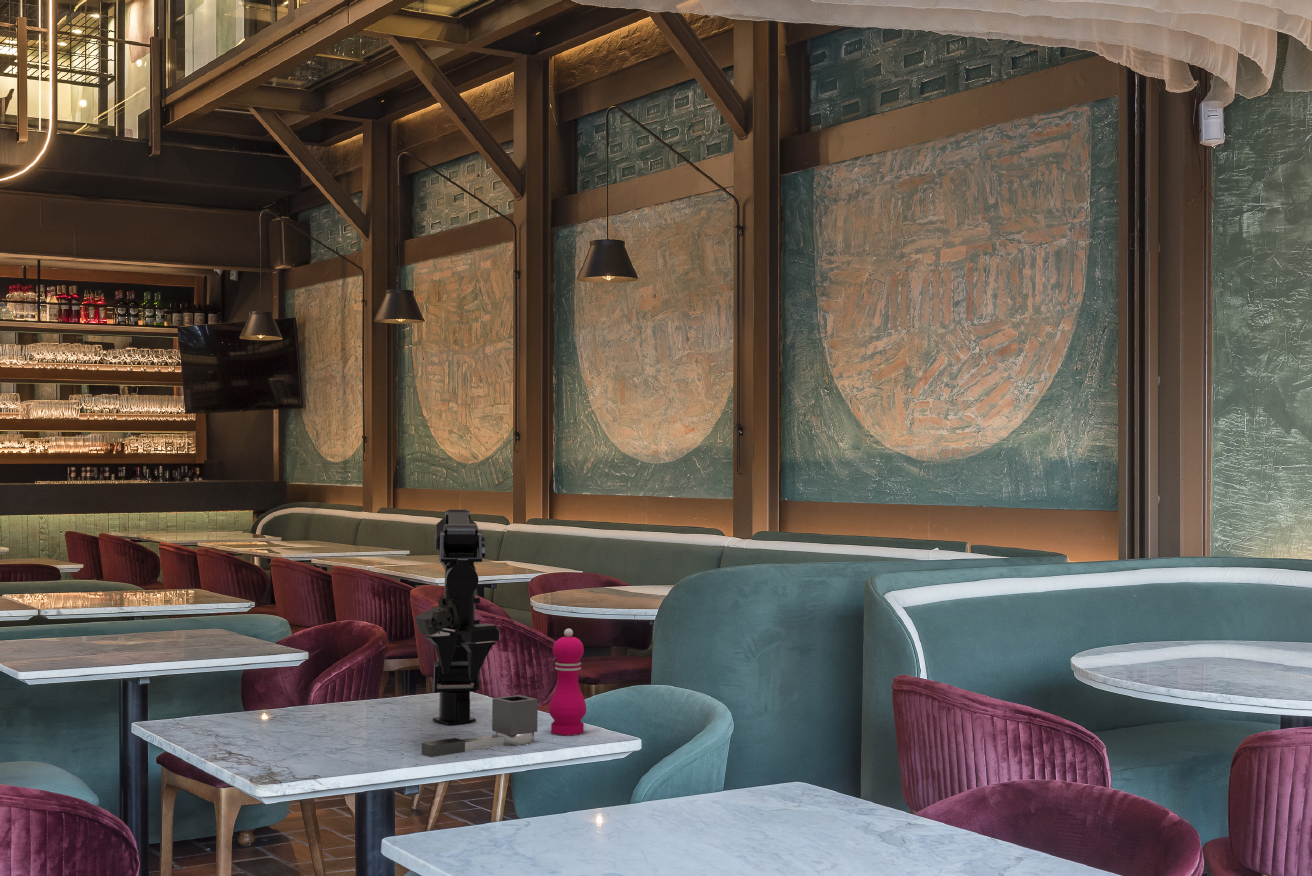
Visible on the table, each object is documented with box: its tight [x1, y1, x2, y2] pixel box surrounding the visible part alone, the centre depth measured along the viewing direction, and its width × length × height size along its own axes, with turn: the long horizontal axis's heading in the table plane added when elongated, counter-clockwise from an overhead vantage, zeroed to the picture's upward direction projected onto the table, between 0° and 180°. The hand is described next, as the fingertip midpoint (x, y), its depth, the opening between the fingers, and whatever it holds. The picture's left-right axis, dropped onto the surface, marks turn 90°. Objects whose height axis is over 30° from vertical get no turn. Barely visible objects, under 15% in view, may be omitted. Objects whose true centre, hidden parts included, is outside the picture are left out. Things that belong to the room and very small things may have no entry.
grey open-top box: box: [491, 694, 539, 736], centre depth 237 cm, size 6×6×6 cm
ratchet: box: [420, 732, 535, 758], centre depth 232 cm, size 7×22×5 cm, turn 131°
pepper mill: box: [548, 628, 587, 736], centre depth 246 cm, size 7×7×20 cm
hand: (458, 676), depth 237 cm, fingers open, 9 cm apart
